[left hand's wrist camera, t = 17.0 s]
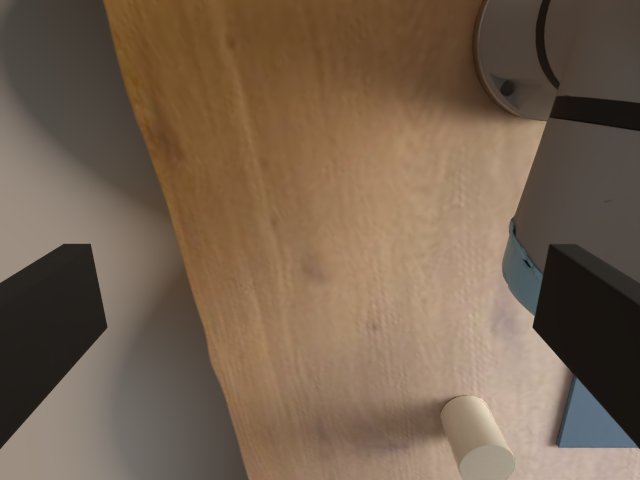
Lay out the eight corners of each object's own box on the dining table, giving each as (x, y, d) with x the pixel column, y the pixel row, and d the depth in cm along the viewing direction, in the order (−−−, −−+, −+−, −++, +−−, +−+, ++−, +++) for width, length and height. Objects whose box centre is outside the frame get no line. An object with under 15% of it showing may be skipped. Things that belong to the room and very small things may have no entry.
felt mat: (604, 252, 47) (608, 254, 47) (729, 252, 47) (734, 254, 47) (556, 444, 57) (558, 447, 56) (659, 444, 57) (663, 447, 56)
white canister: (442, 395, 54) (462, 445, 46) (492, 395, 54) (520, 445, 46) (437, 433, 56) (456, 487, 49) (485, 433, 56) (511, 487, 49)
